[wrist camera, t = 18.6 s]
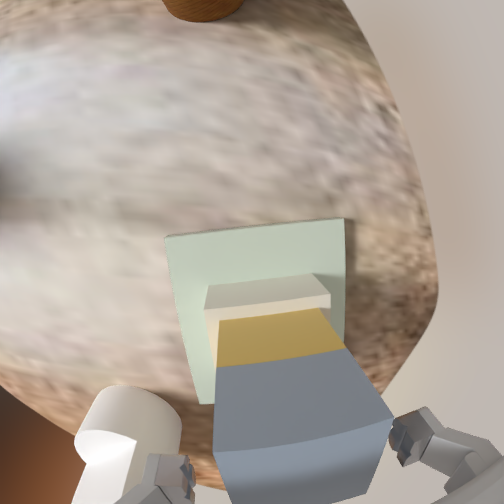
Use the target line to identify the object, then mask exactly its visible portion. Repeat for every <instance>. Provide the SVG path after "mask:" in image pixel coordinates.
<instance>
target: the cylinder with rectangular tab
mask: <svg viewBox="0 0 504 504" xmlns="http://www.w3.org/2000/svg"><path fill="white" fill-rule="evenodd" d="M181 432H182V423H181V419H180V417H179V415H178V414H177V412H176V411H175V409H174V408H173V407H171V406H170V405H169V404H168V403H167V402H166V401H165V400H163V399H162V398H160V397H159V396H157V395H156V394H153V393H151V392H149V391H147V390H144V389H141V388H137V387H134V386H128V385H114V386H109V387H107V388H105V389H103V390H101V392H100V393H99V394H98V395H97V397H96V398H95V400H94V402H93V404H92V406H91V408H90V410H89V411H88V413H87V415H86V417H85V419H84V421H83V423H82V425H81V427H80V429H79V431H78V432H77V434H76V436H75V442H74V444H75V447H76V450H77V452H78V454H79V455H80V457H81V458H82V459H83V460H84V461H85V462H86V463H87V464H86V467H85V469H84V472H83V474H82V477H81V479H80V482H79V484H78V487H77V489H76V492H75V495H74V497H73V500H72V503H71V504H114V503H115V502H116V501H117V500H119V499H120V498H121V497H122V496H124V495H125V494H126V493H127V492H128V491H130V490H131V489H132V488H133V487H134V486H136V485H137V484H141V481H142V477H143V472H144V468H145V464H146V460H147V456H148V455H149V453H153V454H171V455H178V452H179V446H180V439H181Z"/></svg>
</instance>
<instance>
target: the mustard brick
mask: <svg viewBox="0 0 504 504" xmlns="http://www.w3.org/2000/svg"><path fill="white" fill-rule="evenodd" d="M344 348H346V346H345V345H344V343H343V342H342V341H341V339H340V338H339V336H338V335H337V333H336V332H335V331H334V329H333V328H332V326H331V325H330V324H329V322H328V321H327V319H326V318H325V316H324V315H323V314H322V312H321V311H320V309H319V308H312V309H305V310H298V311H292V312H285V313H277V314H270V315H262V316H254V317H246V318H237V319H228V320H219V332H218V348H217V365H216V367H227V366H237V365H246V364H255V363H263V362H270V361H277V360H284V359H290V358H296V357H302V356H308V355H314V354H319V353H324V352H330V351H335V350H339V349H344Z"/></svg>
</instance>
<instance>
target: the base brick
mask: <svg viewBox="0 0 504 504" xmlns="http://www.w3.org/2000/svg"><path fill="white" fill-rule="evenodd" d="M312 308H319V309H320V311H321V312H322V314H323V315H324V316H325V318H326V319H327V321H328V322H329V324H330V319H331V294H330V293H329V291H328V290H327V289H326V288H325V287H324V286H323V285H322V284H321V283H320V282H319V281H318V280H317V278H316V277H315V276H314V275H313V274H312V273H309V274H301V275H293V276H286V277H277V278H269V279H261V280H252V281H244V282H235V283H226V284H217V285H208V290H207V295H206V300H205V305H204V315H205V321H206V327H207V332H208V337H209V343H210V348H211V353H212V358H213V363H214V368H215V373H216V365H217V348H218V332H219V320H228V319H237V318H246V317H254V316H262V315H270V314H277V313H285V312H292V311H298V310H305V309H312Z"/></svg>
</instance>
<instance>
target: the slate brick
mask: <svg viewBox="0 0 504 504" xmlns="http://www.w3.org/2000/svg"><path fill="white" fill-rule="evenodd" d="M393 420H394V416H393V414H392V413H391V411H390V410H389V408H388V407H387V405H386V404H385V402H384V401H383V399H382V398H381V396H380V395H379V393H378V392H377V390H376V389H375V388H374V386H373V385H372V383H371V382H370V380H369V379H368V377H367V376H366V375H365V373H364V372H363V370H362V369H361V367H360V366H359V364H358V363H357V362H356V360H355V359H354V357H353V356H352V354H351V353H350V352H349V350H348V349H347V348H344V349H339V350H335V351H330V352H324V353H319V354H314V355H308V356H302V357H296V358H290V359H284V360H277V361H270V362H263V363H255V364H246V365H237V366H227V367H216V381H215V401H214V425H213V455H214V458H215V461H216V463H217V466H218V469H219V472H220V474H221V477H222V479H223V482H224V485H225V487H226V490H227V492H228V495H229V497H230V500H231V502H232V504H331V503H335V502H339V501H342V500H346V499H350V498H353V497H356V496H359V495H363V494H366V492H367V490H368V488H369V485H370V483H371V481H372V478H373V476H374V474H375V471H376V468H377V466H378V463H379V461H380V458H381V456H382V453H383V450H384V447H385V445H386V442H387V439H388V436H389V433H390V430H391V426H392V423H393Z"/></svg>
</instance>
